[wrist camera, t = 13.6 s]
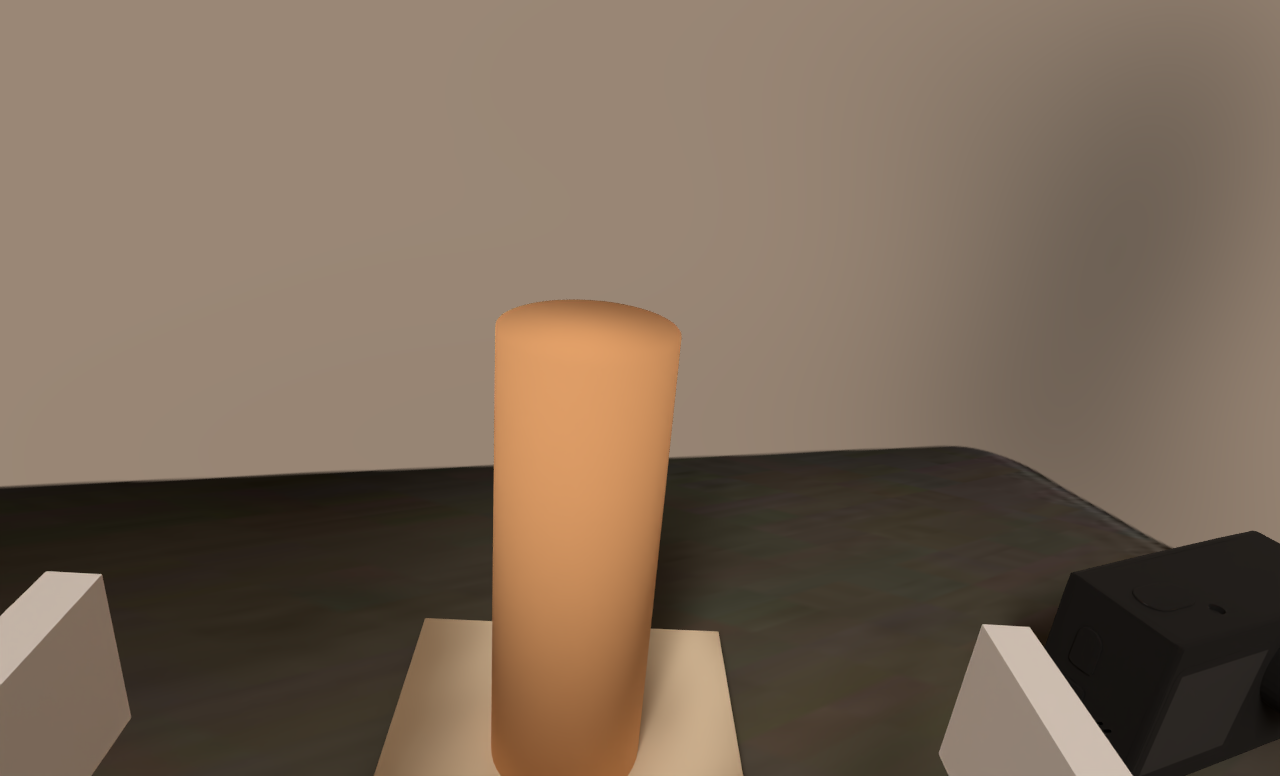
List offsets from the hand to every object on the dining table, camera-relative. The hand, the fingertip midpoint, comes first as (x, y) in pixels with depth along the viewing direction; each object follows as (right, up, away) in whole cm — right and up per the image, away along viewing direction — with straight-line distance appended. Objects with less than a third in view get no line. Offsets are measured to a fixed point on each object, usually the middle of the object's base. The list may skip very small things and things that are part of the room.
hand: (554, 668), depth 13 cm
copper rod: (-1, -8, +15) cm, 17 cm away
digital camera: (+22, -9, +19) cm, 31 cm away
